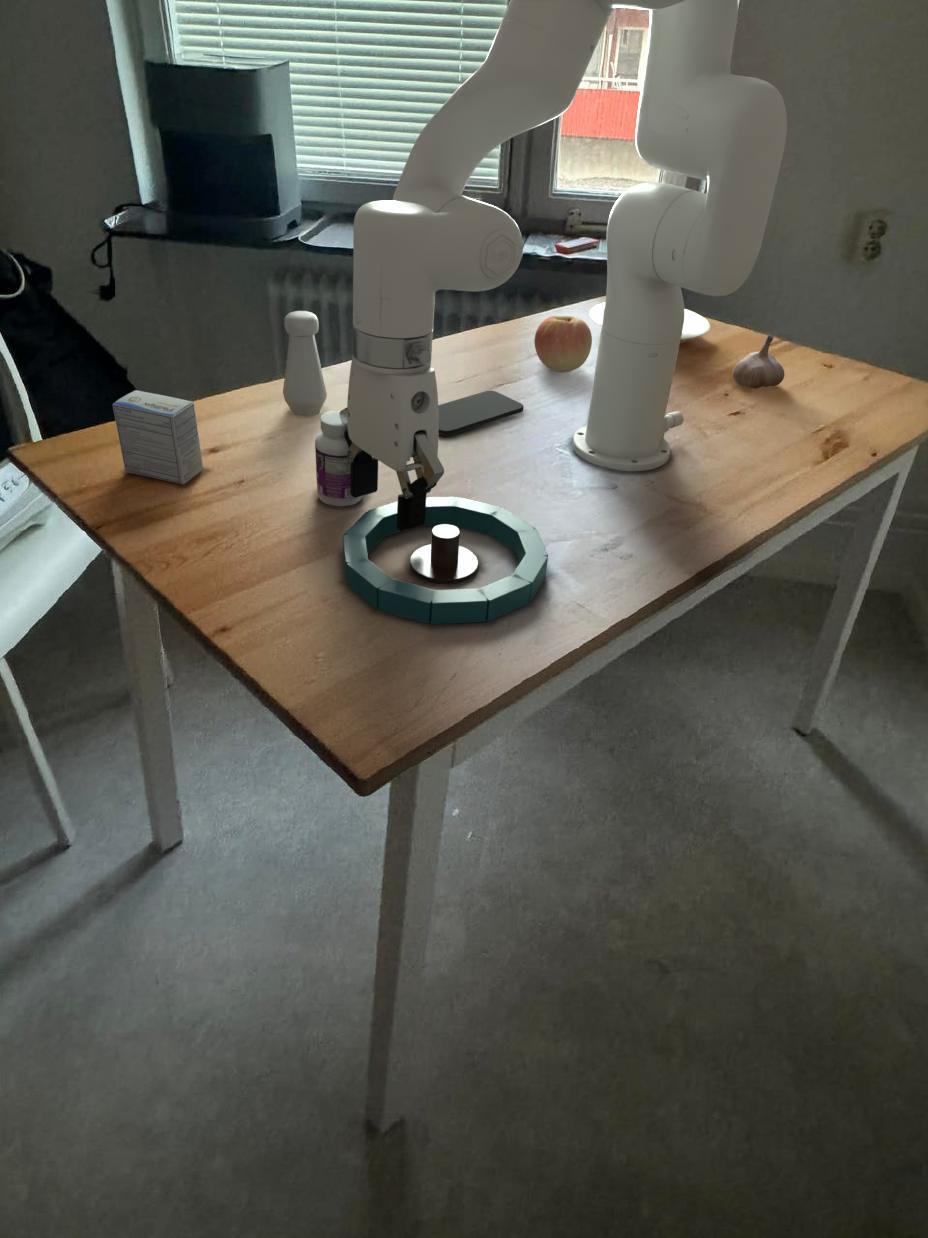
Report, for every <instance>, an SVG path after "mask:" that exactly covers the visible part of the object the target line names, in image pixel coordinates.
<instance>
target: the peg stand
mask: <svg viewBox="0 0 928 1238" xmlns="http://www.w3.org/2000/svg"><path fill="white" fill-rule="evenodd" d="M460 535H461V531H460V529H459V528H458V526H455V525H448V524H442V525H437V526H433V528H432V529H431V541H430V542H431V543H430V544H425V545H423V546H420V547H419V548H417V549H415V550H414V551H413V552H412V553H411V555H410V558H409V567H410V569H411V571H412V572H413V574H415V575H416V576H417V577H419V578H421V579H422V580H424V581H427V582H429V583H435V584H442V585H450V584H457V583H458V584H459V583H462V582H465V581H467V580H469V579H471V578H473V577H474V576H475V575H476V574H477V572H478V569H479V559H478V557H477V555H476V554H475V553H474V552H473V551H471V550H470V549H469V548H467V547H464V546H461V545H460V538H461V537H460Z"/></svg>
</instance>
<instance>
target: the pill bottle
mask: <svg viewBox="0 0 928 1238" xmlns="http://www.w3.org/2000/svg"><path fill="white" fill-rule="evenodd" d="M340 411H341V410H331V411H330V410H329V411H327V412H324V413H323V414H321V416H320V419H319V421H320V424H319V425H320V427H319V428H320V430H321V431H320V432H319V433H318V434H317V436H316V437H315V441H314V449H315V451H314V452H315V470H316V471H315V473H316V475H315V476H316V491H317V497H318V498H319V500H320V501H321V502H323V503H324V504H326V505H329V506H334V507H348V506H349V507H350V506H353V505H355V504H357V503H359V502H360V501H361V500H362V499H363V498H364V497H365V495H363V496H360V497H356V498H355V497H353V496H352V495H351V494H350V472H351V462H353V461H350V460H349V458H348V454H347V452H348V450H349V447H348V444H347V442H346V440H345V438H344V432H345V431H346V430H345V426H344V424H342V422H341V419H340V415H339V413H340Z"/></svg>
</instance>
